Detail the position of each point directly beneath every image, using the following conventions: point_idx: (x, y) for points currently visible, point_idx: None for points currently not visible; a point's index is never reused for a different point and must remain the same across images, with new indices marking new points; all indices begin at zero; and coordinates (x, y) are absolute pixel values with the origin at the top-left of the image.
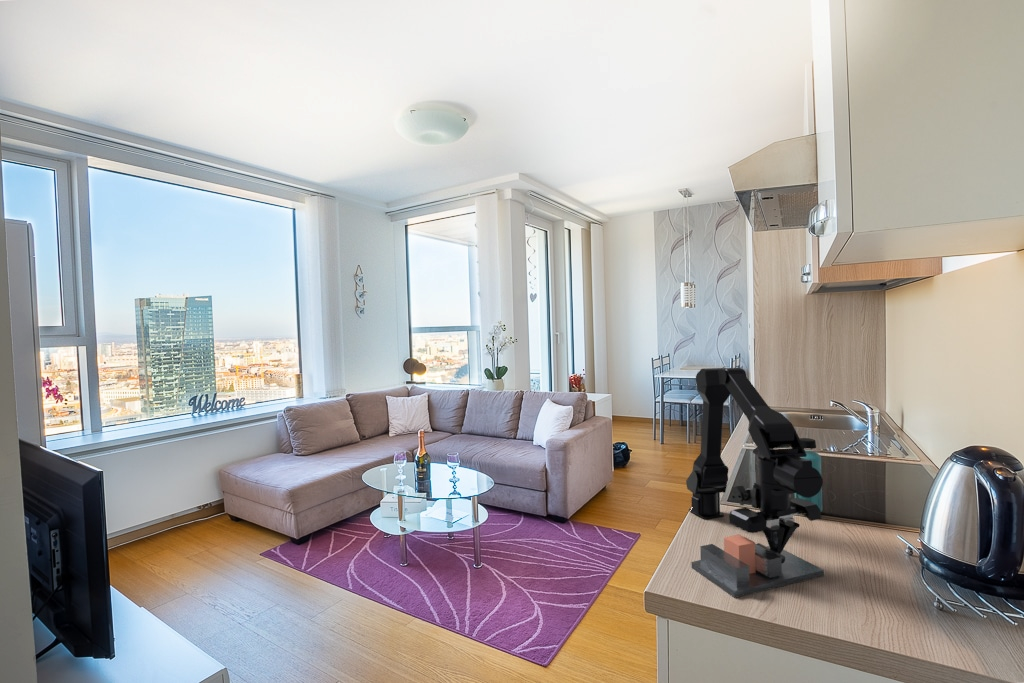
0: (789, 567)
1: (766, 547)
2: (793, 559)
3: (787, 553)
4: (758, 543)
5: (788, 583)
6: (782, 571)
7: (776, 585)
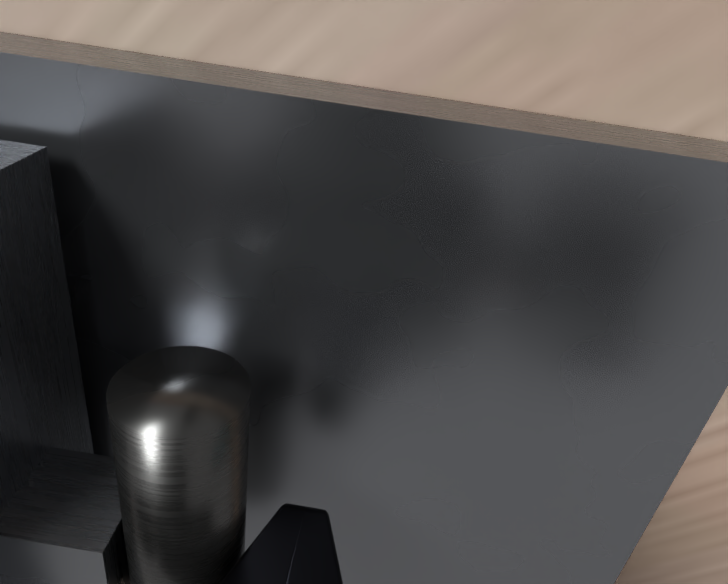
0: None
1: (162, 561)
2: (539, 518)
3: (648, 429)
4: (145, 443)
5: None
6: None
7: None
